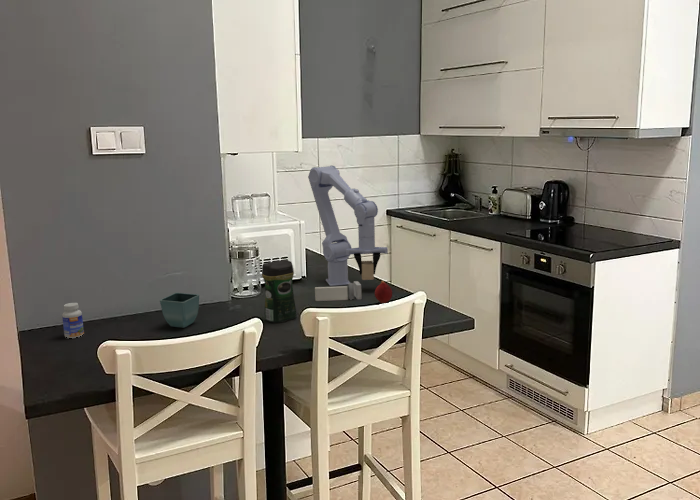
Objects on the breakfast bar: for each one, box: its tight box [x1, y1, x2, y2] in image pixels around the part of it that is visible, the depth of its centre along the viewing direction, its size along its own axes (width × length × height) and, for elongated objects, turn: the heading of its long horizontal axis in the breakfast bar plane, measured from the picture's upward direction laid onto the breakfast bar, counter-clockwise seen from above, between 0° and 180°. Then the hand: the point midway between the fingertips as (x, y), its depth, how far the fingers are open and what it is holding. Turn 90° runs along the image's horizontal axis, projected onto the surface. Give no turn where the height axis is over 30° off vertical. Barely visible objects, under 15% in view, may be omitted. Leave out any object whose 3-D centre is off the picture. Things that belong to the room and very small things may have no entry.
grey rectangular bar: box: [314, 285, 349, 302], centre depth 225 cm, size 11×2×4 cm, turn 92°
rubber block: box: [360, 260, 375, 281], centre depth 234 cm, size 6×4×6 cm, turn 2°
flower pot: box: [159, 292, 200, 329], centre depth 201 cm, size 9×9×9 cm
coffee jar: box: [261, 259, 297, 323], centre depth 204 cm, size 10×8×19 cm
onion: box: [374, 280, 393, 304], centre depth 217 cm, size 6×6×8 cm
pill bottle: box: [61, 302, 85, 339], centre depth 194 cm, size 5×5×10 cm
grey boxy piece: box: [347, 280, 362, 301], centre depth 226 cm, size 5×4×6 cm
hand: (367, 273), depth 234 cm, fingers closed on rubber block, 4 cm apart
